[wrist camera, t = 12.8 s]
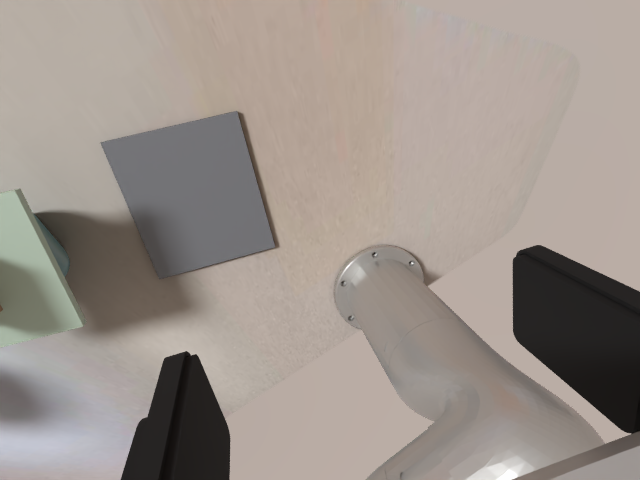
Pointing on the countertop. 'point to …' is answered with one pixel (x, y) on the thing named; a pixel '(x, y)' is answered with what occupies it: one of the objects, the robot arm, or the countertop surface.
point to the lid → (30, 278)
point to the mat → (192, 193)
